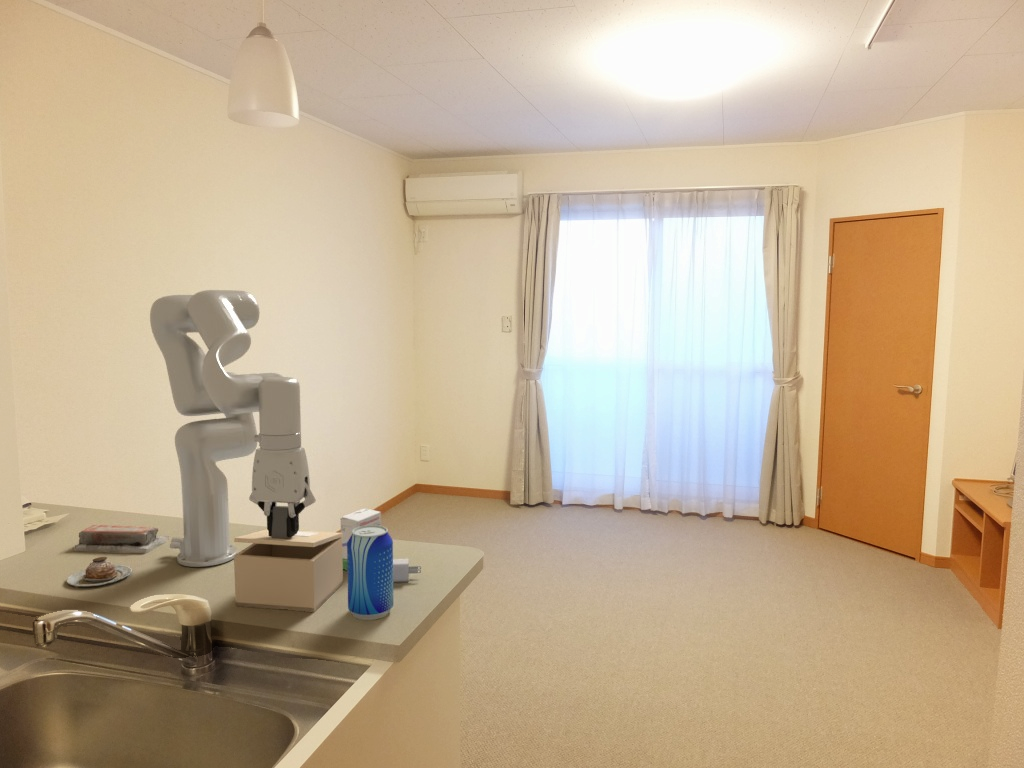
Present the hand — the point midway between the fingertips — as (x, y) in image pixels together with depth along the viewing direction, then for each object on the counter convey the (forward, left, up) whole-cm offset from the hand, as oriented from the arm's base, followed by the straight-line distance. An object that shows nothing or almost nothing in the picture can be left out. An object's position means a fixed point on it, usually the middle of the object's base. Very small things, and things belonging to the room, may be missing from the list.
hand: (283, 533), depth 139 cm
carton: (0, +3, -13) cm, 14 cm away
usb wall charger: (+20, +15, -14) cm, 28 cm away
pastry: (-44, +4, -14) cm, 46 cm away
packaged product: (-53, +23, -14) cm, 59 cm away
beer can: (+18, -2, -14) cm, 23 cm away
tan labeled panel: (0, +3, -2) cm, 3 cm away
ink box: (+8, +21, -14) cm, 26 cm away
